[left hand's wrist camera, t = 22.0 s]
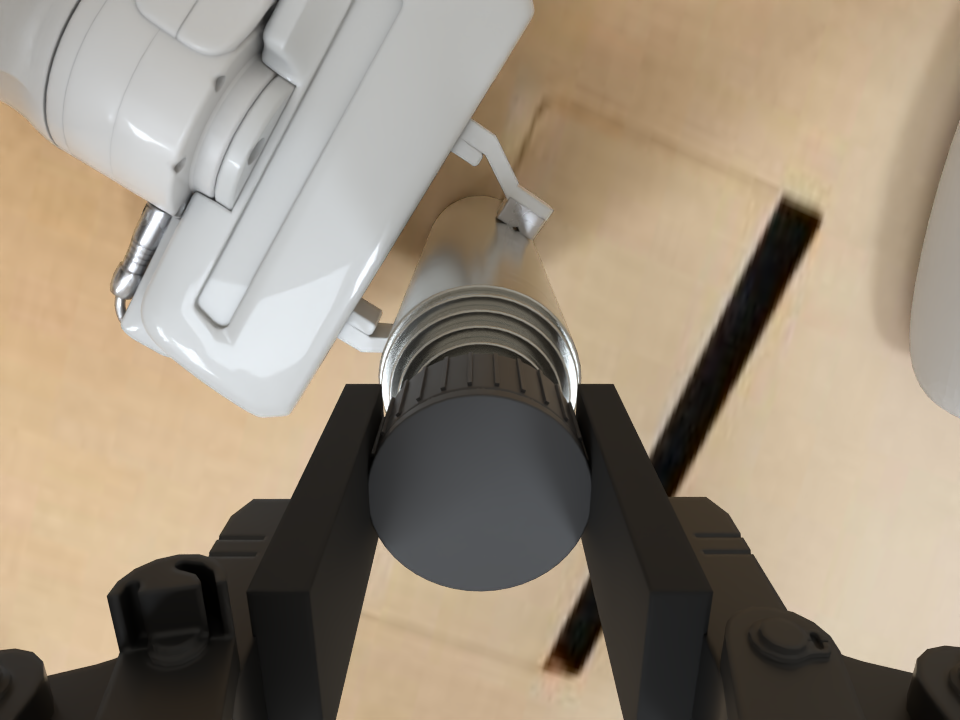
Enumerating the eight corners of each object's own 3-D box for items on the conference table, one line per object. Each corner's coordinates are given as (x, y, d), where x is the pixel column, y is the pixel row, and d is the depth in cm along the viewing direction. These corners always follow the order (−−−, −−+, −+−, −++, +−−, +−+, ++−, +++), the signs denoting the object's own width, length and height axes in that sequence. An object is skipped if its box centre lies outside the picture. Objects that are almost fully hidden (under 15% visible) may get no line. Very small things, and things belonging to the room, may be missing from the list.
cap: (619, 458, 15) (642, 515, 13) (464, 561, 16) (461, 630, 14) (498, 308, 14) (501, 344, 12) (337, 429, 14) (314, 482, 12)
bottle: (538, 288, 36) (629, 566, 14) (439, 306, 36) (379, 604, 14) (522, 186, 34) (598, 325, 12) (418, 206, 34) (312, 374, 13)
